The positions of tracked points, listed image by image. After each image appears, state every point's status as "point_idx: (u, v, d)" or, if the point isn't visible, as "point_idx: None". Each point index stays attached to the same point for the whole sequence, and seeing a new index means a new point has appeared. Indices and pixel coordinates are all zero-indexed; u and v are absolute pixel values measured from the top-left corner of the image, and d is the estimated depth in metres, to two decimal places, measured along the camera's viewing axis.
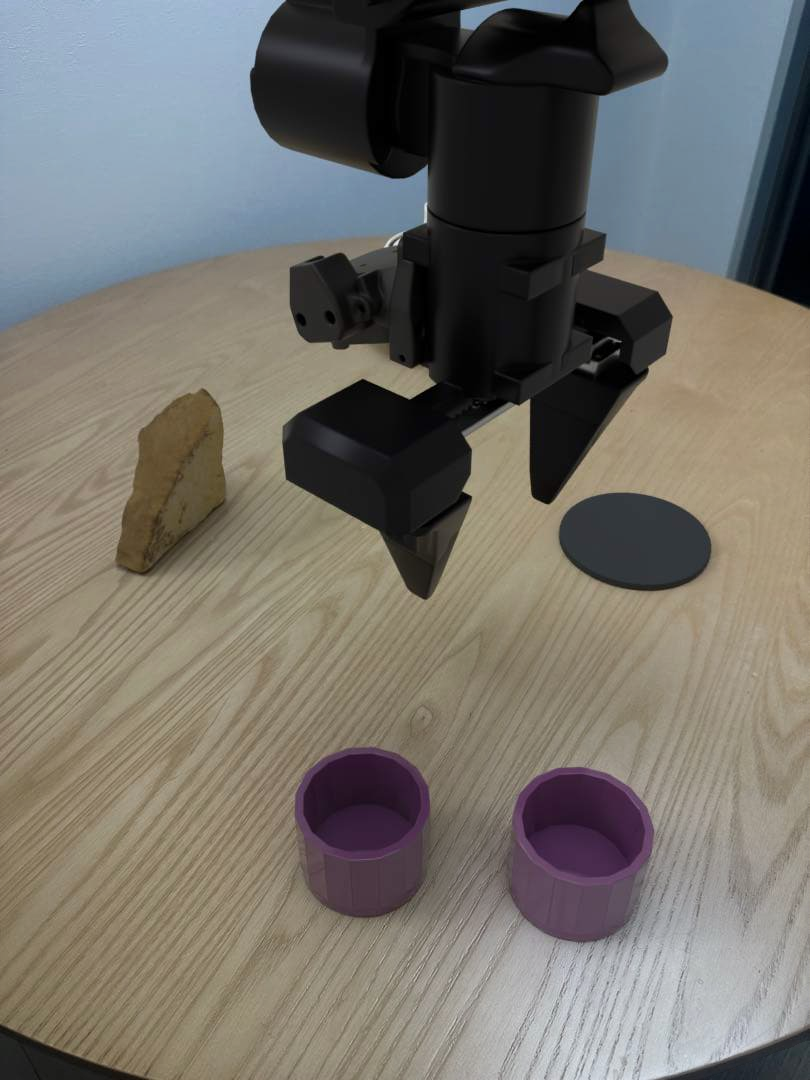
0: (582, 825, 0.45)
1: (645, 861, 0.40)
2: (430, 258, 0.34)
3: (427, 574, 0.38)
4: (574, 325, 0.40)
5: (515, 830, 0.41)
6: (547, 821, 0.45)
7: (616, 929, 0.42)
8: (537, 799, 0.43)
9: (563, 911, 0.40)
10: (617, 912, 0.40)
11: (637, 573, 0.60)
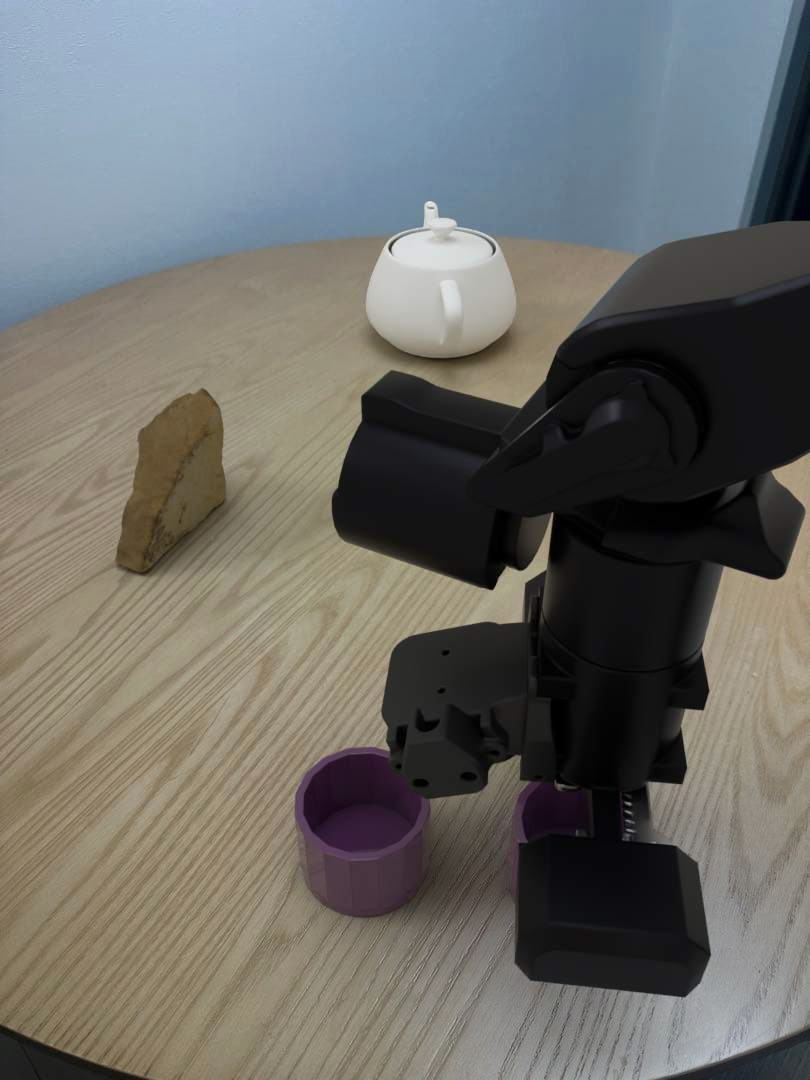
0: (582, 825, 0.45)
1: None
2: (579, 693, 0.32)
3: None
4: None
5: (515, 830, 0.41)
6: (547, 821, 0.45)
7: None
8: (537, 799, 0.43)
9: None
10: None
11: None
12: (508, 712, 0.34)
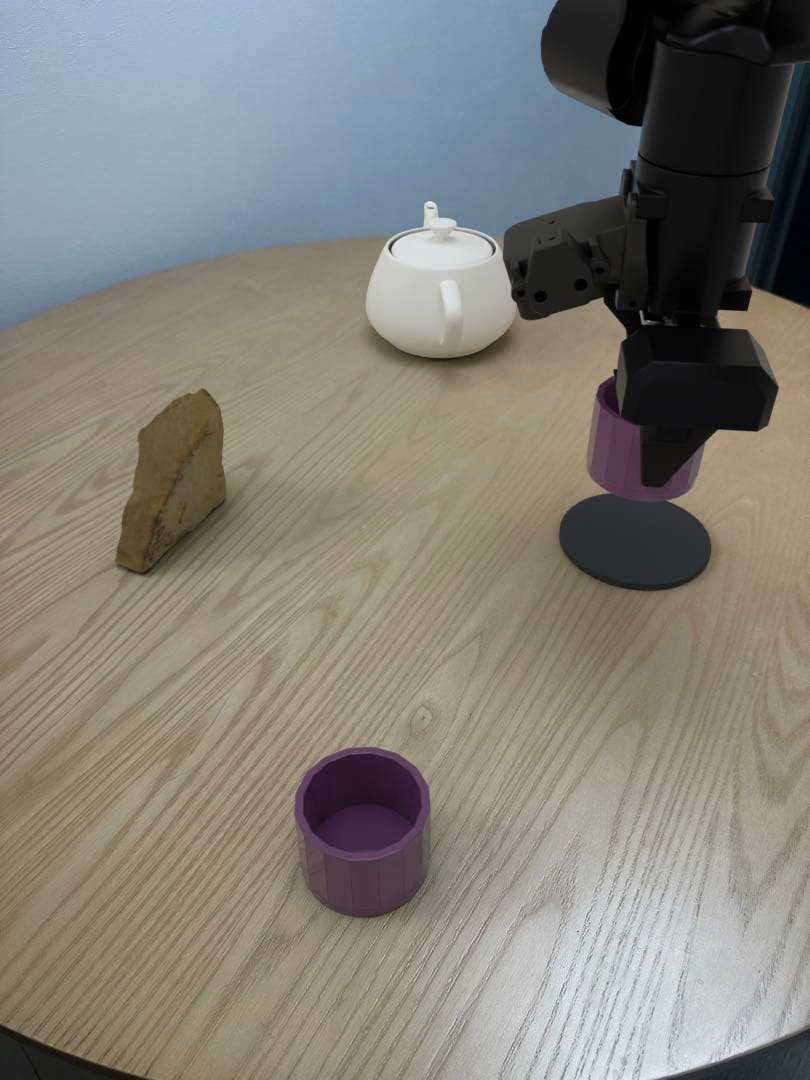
0: None
1: None
2: (670, 210, 0.41)
3: (684, 459, 0.47)
4: None
5: (598, 403, 0.49)
6: None
7: (680, 493, 0.50)
8: (612, 398, 0.52)
9: (639, 465, 0.49)
10: (683, 469, 0.49)
11: (637, 573, 0.60)
12: (610, 241, 0.42)
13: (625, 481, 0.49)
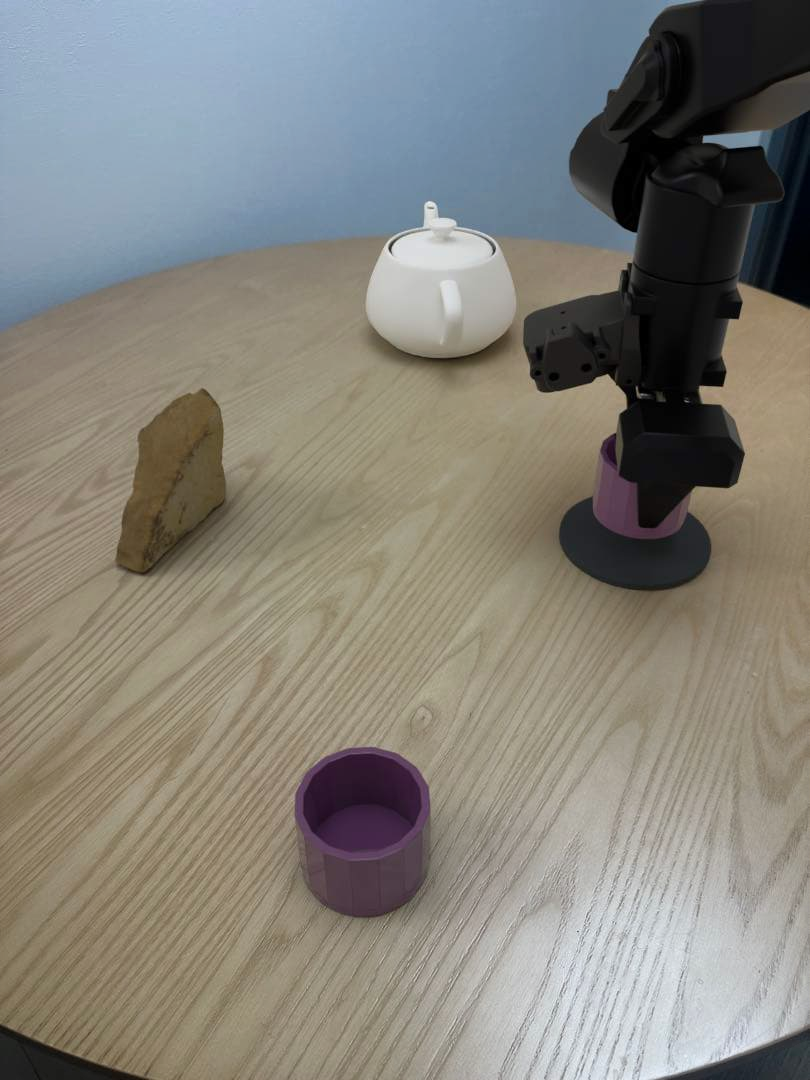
0: None
1: None
2: (658, 309, 0.51)
3: (673, 505, 0.56)
4: None
5: (602, 457, 0.59)
6: None
7: (671, 532, 0.60)
8: (614, 451, 0.61)
9: (636, 509, 0.58)
10: (673, 512, 0.59)
11: (637, 573, 0.60)
12: (610, 331, 0.52)
13: (624, 522, 0.59)
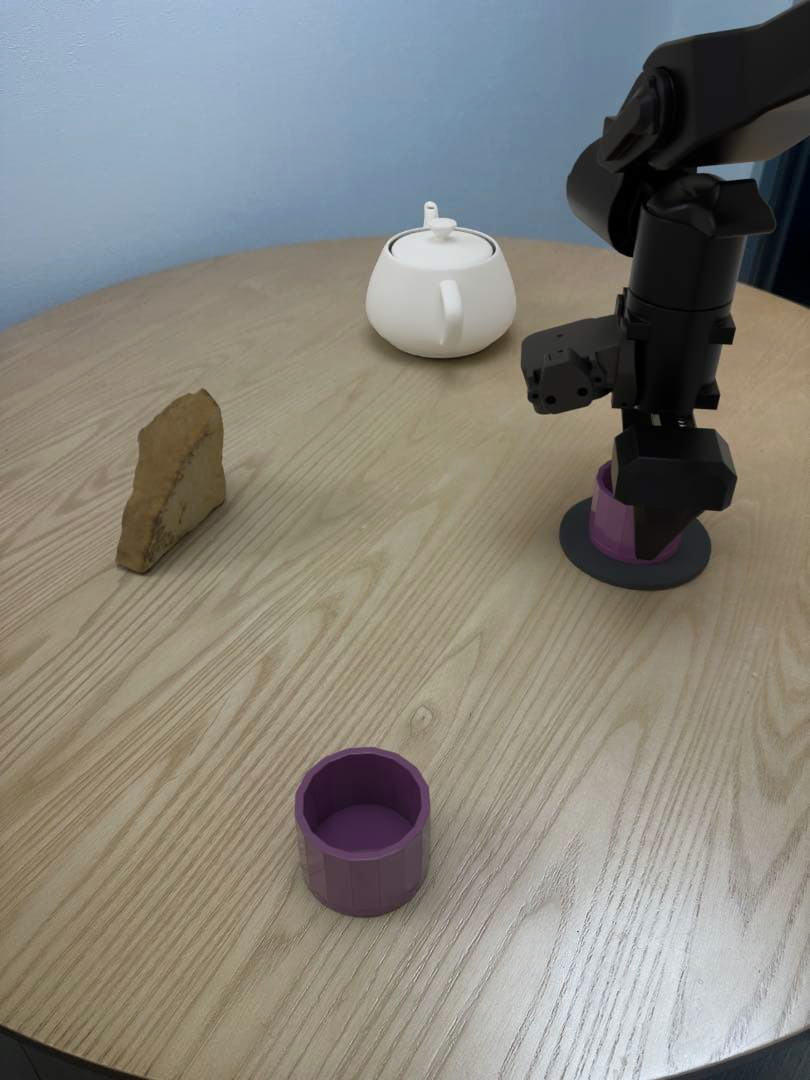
0: None
1: None
2: (653, 334, 0.52)
3: (670, 538, 0.56)
4: None
5: (598, 485, 0.60)
6: None
7: (665, 557, 0.61)
8: (610, 477, 0.63)
9: (631, 536, 0.60)
10: None
11: (637, 573, 0.60)
12: (606, 356, 0.53)
13: (620, 548, 0.60)
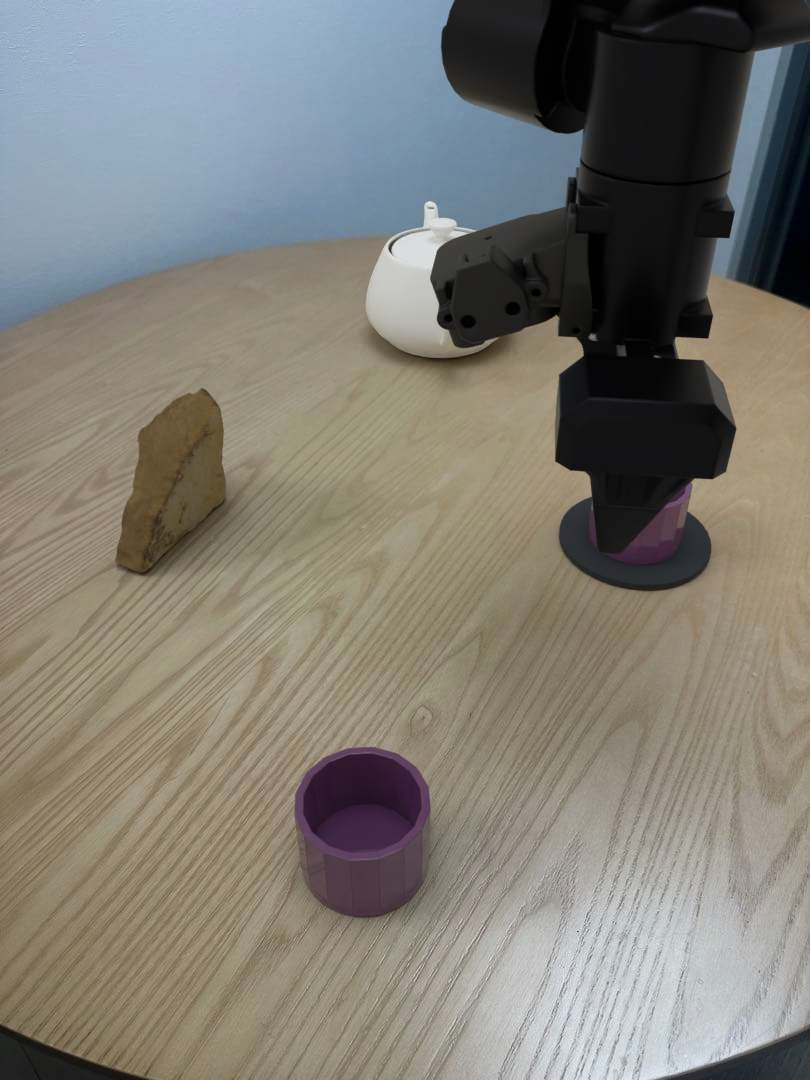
0: None
1: (687, 498, 0.59)
2: (614, 223, 0.35)
3: (644, 523, 0.40)
4: None
5: None
6: None
7: (665, 557, 0.61)
8: None
9: None
10: (667, 539, 0.60)
11: (637, 573, 0.60)
12: (548, 258, 0.37)
13: None
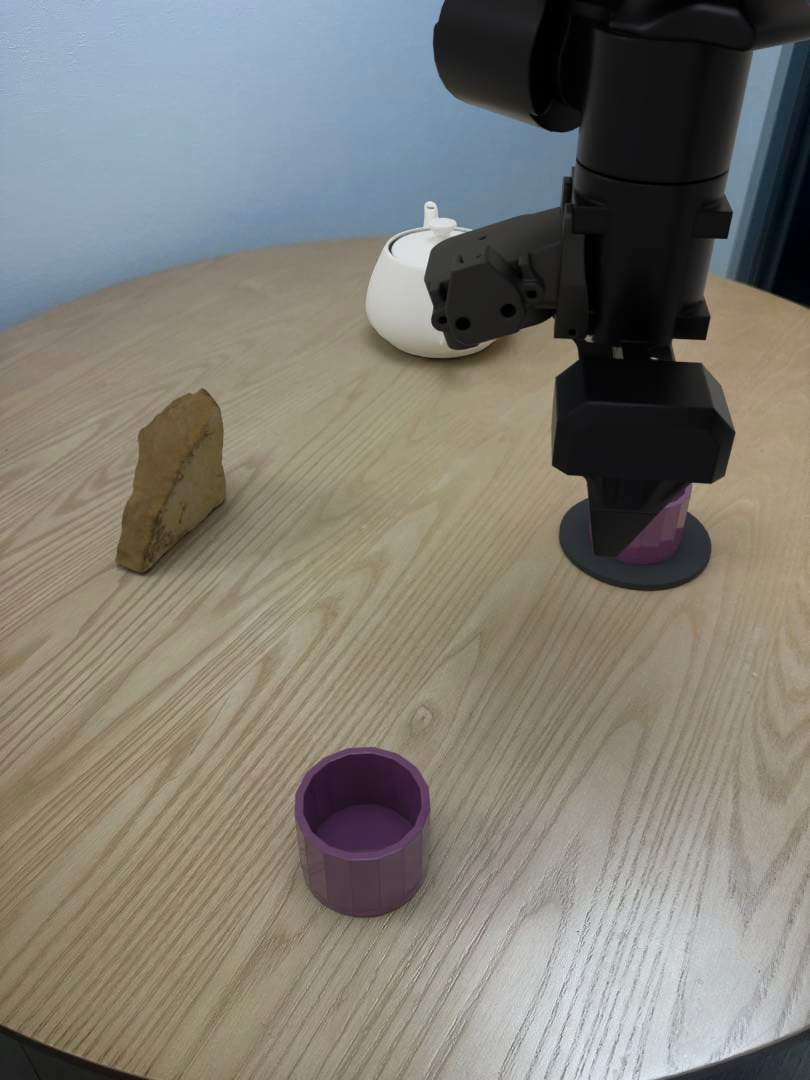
0: None
1: (687, 498, 0.59)
2: (611, 224, 0.35)
3: (640, 527, 0.40)
4: None
5: None
6: None
7: (665, 557, 0.61)
8: None
9: None
10: (667, 539, 0.60)
11: (637, 573, 0.60)
12: (544, 259, 0.36)
13: None
